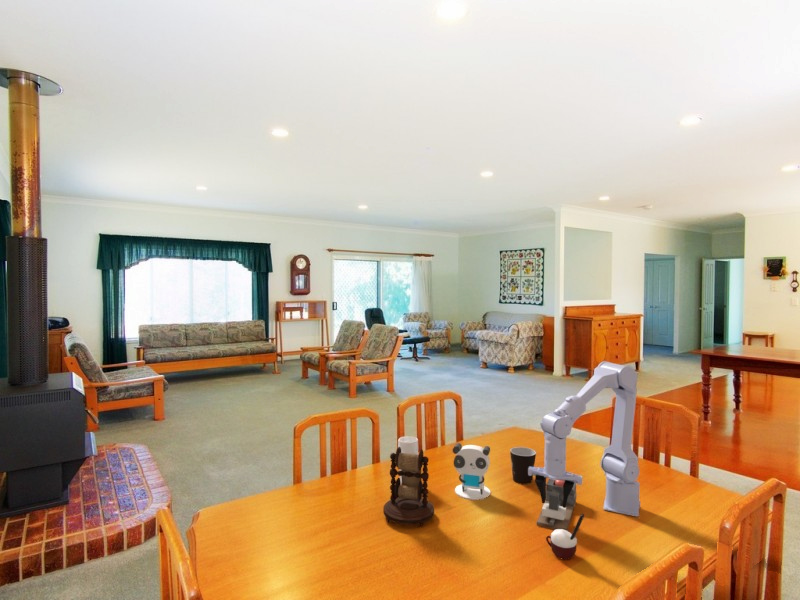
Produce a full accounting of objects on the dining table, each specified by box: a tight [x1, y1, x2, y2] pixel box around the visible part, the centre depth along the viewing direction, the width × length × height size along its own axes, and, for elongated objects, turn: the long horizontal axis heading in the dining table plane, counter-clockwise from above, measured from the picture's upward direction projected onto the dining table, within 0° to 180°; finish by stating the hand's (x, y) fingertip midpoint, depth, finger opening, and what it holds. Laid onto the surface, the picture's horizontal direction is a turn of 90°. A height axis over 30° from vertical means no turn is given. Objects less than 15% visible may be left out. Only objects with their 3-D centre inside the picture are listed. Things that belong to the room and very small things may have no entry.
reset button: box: [555, 480, 565, 487], centre depth 148 cm, size 4×4×2 cm
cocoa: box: [545, 513, 585, 560], centre depth 119 cm, size 10×6×12 cm, turn 22°
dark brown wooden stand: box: [382, 446, 435, 528], centre depth 139 cm, size 15×15×20 cm
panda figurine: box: [452, 442, 491, 501], centre depth 155 cm, size 12×11×15 cm
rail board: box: [536, 478, 577, 531], centre depth 141 cm, size 8×20×6 cm, turn 153°
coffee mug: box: [509, 446, 537, 485], centre depth 165 cm, size 12×9×10 cm
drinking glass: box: [397, 435, 419, 485], centre depth 161 cm, size 7×7×15 cm
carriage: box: [541, 492, 566, 520], centre depth 136 cm, size 6×4×6 cm, turn 63°
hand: (554, 504), depth 136 cm, fingers open, 5 cm apart
